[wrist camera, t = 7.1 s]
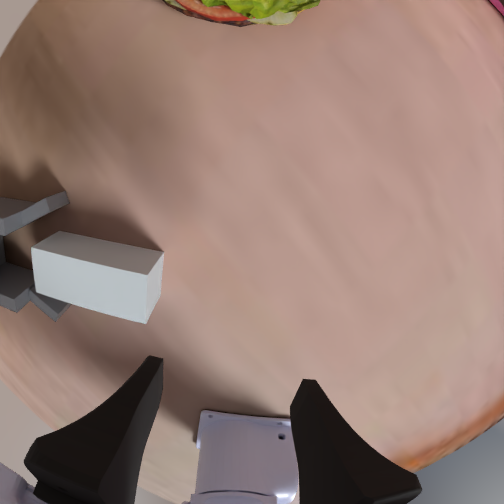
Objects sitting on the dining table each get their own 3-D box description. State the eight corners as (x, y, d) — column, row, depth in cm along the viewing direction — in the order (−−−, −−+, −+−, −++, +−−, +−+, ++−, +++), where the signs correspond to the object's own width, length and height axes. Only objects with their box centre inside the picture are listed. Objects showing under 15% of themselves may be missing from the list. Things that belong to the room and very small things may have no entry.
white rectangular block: (164, 250, 20) (147, 275, 16) (161, 294, 21) (145, 323, 17) (60, 229, 19) (31, 247, 15) (62, 270, 20) (36, 292, 16)
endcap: (69, 191, 18) (25, 208, 13) (73, 307, 21) (43, 342, 16) (-7, 182, 17) (-48, 195, 12) (2, 282, 20) (-30, 307, 15)
